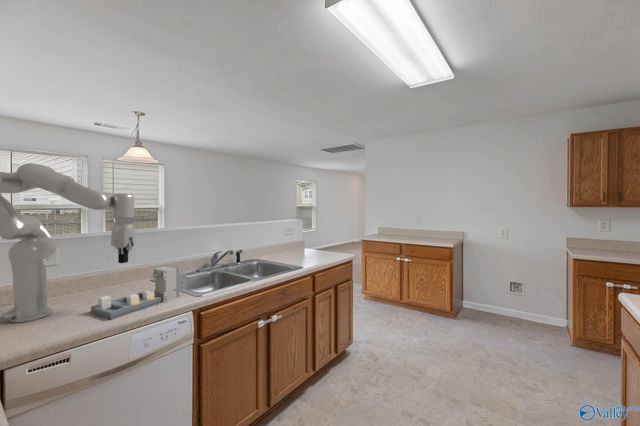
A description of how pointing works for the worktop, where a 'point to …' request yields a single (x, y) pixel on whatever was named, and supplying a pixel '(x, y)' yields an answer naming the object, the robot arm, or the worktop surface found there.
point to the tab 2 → (132, 299)
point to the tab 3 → (148, 294)
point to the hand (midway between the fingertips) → (123, 262)
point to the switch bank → (124, 307)
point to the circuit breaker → (169, 282)
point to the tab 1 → (104, 302)
